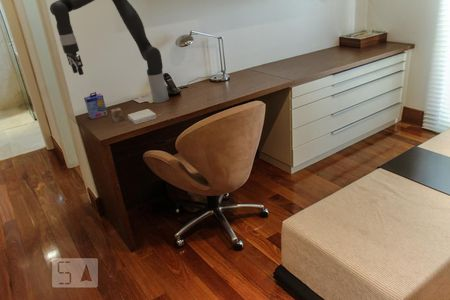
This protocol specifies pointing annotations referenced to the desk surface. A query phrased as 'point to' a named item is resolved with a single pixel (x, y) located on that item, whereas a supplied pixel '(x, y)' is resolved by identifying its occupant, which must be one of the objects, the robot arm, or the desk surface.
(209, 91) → the desk surface
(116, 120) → the block
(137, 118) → the riser
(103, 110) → the ink cartridge box
